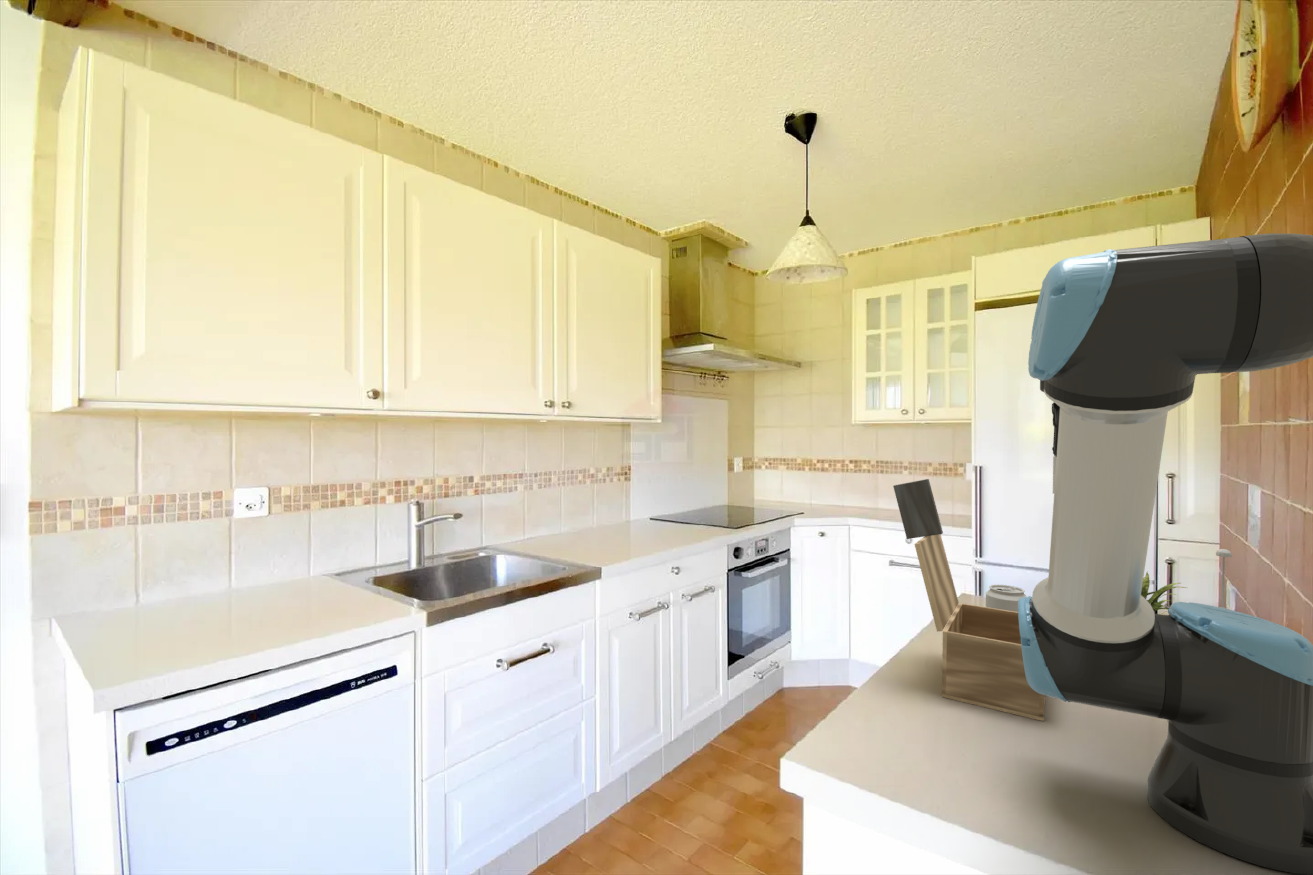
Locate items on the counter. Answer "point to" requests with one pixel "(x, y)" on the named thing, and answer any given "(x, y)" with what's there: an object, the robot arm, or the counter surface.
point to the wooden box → (987, 662)
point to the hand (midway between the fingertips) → (1065, 496)
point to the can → (1004, 597)
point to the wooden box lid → (928, 547)
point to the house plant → (1155, 593)
